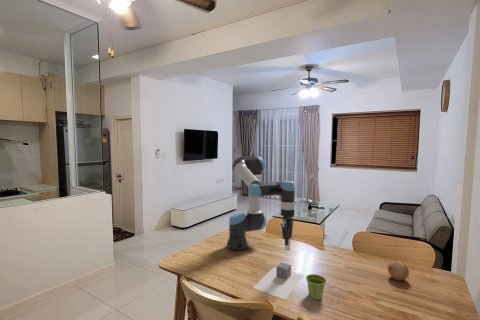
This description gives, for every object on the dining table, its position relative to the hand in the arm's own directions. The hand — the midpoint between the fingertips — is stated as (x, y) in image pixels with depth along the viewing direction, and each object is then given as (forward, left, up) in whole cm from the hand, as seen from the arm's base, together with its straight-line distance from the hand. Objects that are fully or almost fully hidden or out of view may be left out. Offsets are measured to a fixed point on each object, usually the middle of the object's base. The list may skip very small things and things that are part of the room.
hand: (287, 250), depth 142 cm
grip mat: (0, -10, -14) cm, 17 cm away
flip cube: (0, -4, -13) cm, 14 cm away
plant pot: (+20, -12, -14) cm, 27 cm away
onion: (+53, +28, -14) cm, 61 cm away
